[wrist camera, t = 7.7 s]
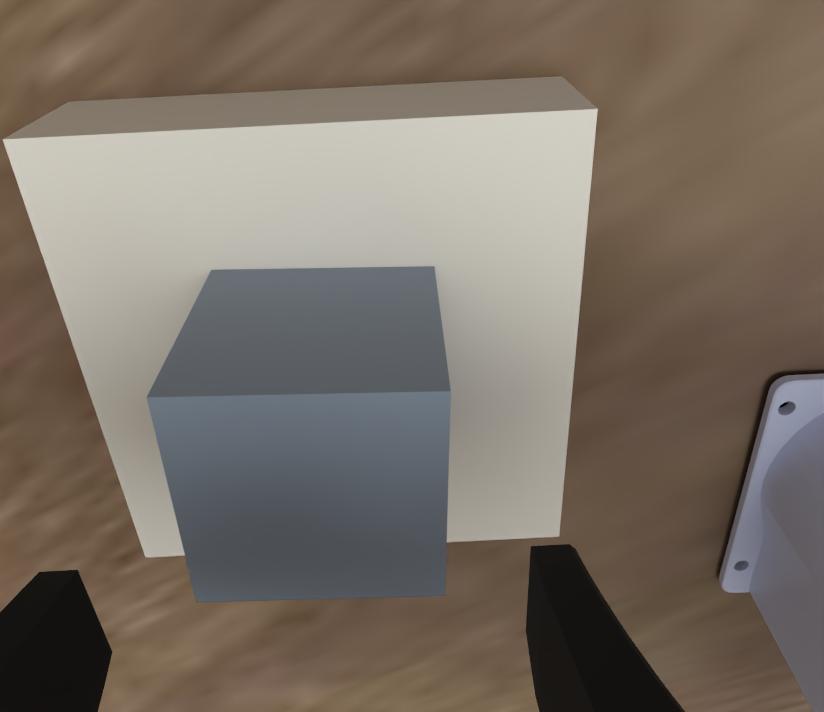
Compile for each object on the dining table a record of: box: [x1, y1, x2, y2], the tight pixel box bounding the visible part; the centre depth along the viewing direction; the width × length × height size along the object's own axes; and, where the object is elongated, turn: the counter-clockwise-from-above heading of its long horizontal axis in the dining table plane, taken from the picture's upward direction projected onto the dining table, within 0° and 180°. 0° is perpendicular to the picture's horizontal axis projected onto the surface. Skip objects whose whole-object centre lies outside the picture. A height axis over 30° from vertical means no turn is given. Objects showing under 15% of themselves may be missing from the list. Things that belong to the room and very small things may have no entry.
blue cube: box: [147, 266, 451, 602], centre depth 15 cm, size 5×5×5 cm
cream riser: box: [3, 76, 597, 557], centre depth 19 cm, size 12×12×4 cm
